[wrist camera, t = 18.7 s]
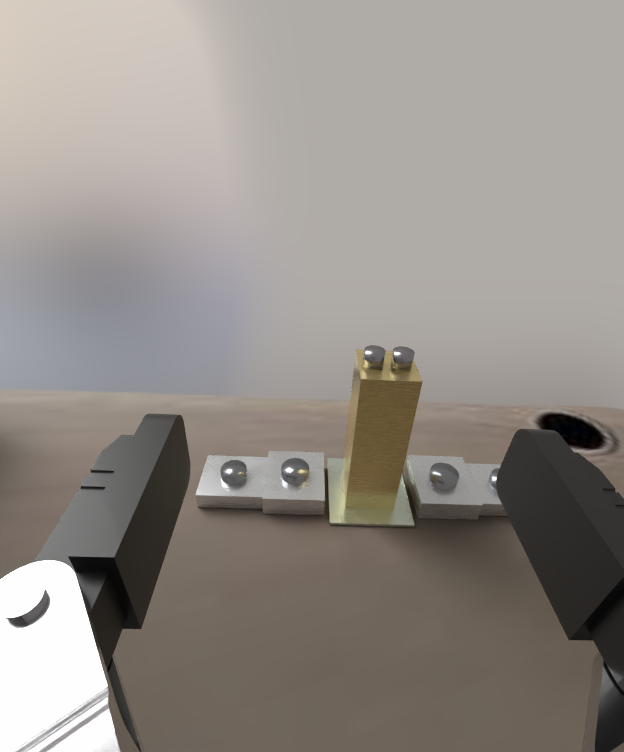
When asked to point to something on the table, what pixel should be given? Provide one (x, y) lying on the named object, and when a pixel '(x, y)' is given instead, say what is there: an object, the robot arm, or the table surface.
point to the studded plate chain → (307, 489)
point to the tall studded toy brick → (379, 425)
